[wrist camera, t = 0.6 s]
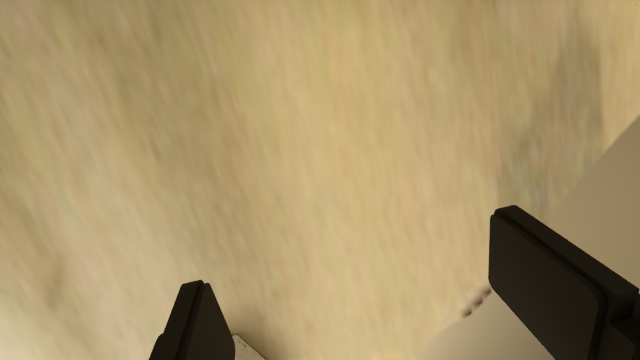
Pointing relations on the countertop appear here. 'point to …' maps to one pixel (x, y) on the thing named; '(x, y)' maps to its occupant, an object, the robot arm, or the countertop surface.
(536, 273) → the robot arm
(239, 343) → the supplement box
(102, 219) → the countertop surface
